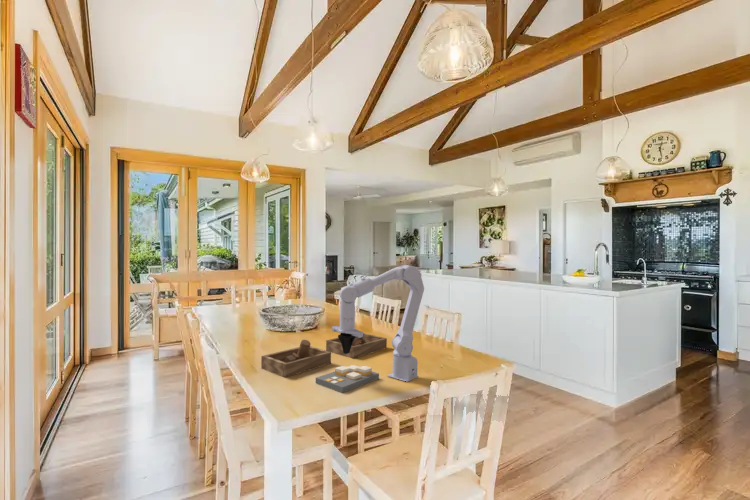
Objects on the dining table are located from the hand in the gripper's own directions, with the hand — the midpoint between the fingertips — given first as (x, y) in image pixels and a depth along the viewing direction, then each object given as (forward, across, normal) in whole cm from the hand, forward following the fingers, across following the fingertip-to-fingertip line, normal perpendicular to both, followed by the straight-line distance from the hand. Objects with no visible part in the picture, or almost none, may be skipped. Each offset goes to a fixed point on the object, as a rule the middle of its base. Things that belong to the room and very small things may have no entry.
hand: (346, 353), depth 153 cm
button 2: (+9, +5, -1) cm, 11 cm away
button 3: (+9, -1, +5) cm, 11 cm away
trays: (+10, -25, +15) cm, 31 cm away
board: (+10, +2, -1) cm, 10 cm away
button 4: (+8, -1, -1) cm, 9 cm away
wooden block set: (+10, -24, -2) cm, 26 cm away
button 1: (+8, +5, +5) cm, 11 cm away
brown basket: (+10, -20, +35) cm, 42 cm away
